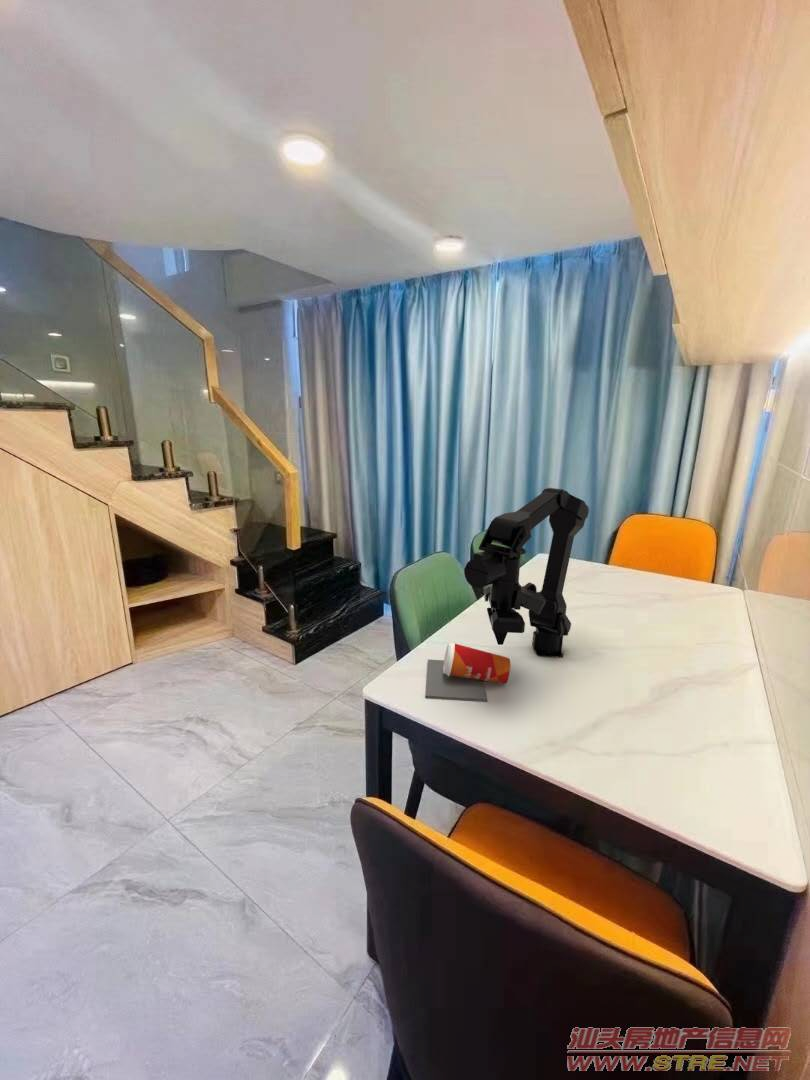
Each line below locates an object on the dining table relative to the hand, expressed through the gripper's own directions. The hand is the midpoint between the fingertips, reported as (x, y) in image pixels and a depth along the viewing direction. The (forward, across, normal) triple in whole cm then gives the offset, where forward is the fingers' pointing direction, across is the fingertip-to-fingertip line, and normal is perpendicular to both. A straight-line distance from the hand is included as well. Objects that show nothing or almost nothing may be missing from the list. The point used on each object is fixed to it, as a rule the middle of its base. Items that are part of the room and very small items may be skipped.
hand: (500, 644), depth 97 cm
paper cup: (+7, 0, -2) cm, 7 cm away
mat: (+10, 0, +9) cm, 13 cm away
